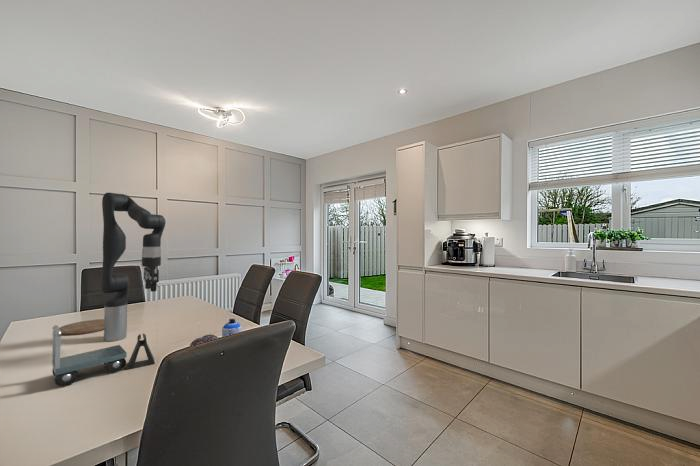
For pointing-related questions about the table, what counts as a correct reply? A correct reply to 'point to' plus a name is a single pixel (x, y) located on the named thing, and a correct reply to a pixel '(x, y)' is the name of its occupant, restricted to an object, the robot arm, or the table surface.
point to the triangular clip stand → (132, 363)
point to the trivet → (82, 327)
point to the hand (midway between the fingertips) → (150, 290)
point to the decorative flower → (203, 339)
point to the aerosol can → (231, 328)
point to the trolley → (83, 360)
